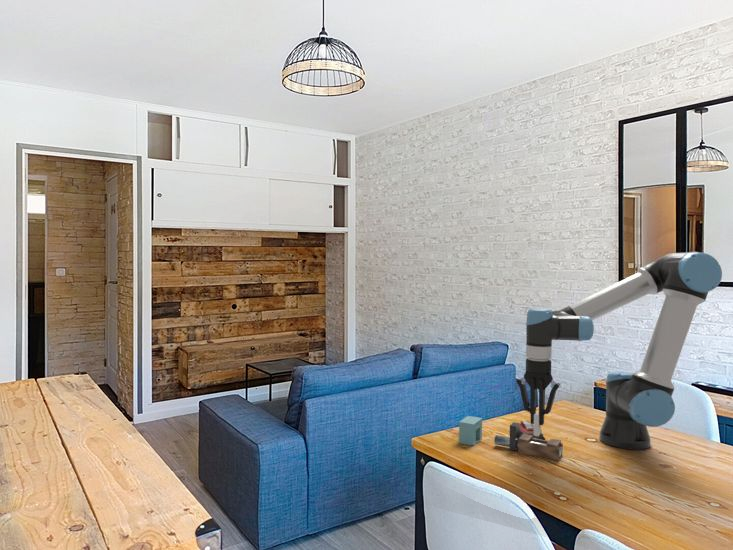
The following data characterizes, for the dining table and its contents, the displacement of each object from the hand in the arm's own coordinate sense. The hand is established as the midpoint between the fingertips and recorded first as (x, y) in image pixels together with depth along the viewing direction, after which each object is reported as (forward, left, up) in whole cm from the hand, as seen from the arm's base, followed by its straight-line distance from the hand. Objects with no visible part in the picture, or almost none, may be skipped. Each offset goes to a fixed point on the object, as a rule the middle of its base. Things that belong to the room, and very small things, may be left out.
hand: (537, 434), depth 164 cm
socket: (+21, 0, -6) cm, 22 cm away
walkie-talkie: (+8, -19, -7) cm, 21 cm away
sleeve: (-1, 0, -6) cm, 6 cm away
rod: (+3, 0, -5) cm, 6 cm away
